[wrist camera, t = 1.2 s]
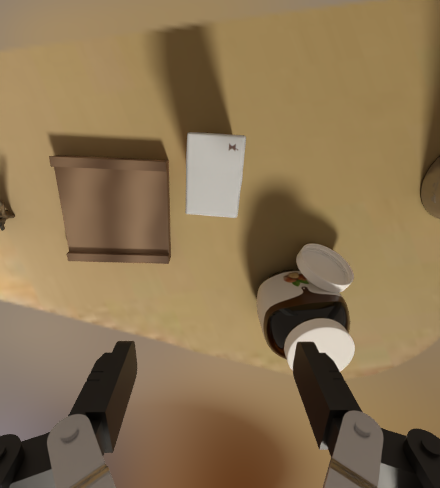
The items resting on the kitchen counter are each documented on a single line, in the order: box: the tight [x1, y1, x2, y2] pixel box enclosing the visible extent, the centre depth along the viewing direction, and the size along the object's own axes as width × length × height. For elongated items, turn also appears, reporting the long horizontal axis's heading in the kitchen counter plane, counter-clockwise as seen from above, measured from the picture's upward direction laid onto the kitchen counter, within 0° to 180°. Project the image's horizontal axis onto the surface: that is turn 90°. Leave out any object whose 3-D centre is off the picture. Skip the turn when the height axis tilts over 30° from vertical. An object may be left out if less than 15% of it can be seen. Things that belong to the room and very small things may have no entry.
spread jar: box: [257, 243, 355, 372], centre depth 31 cm, size 12×11×12 cm
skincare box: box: [186, 132, 246, 218], centre depth 25 cm, size 6×4×12 cm
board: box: [49, 155, 171, 264], centre depth 31 cm, size 12×12×2 cm
